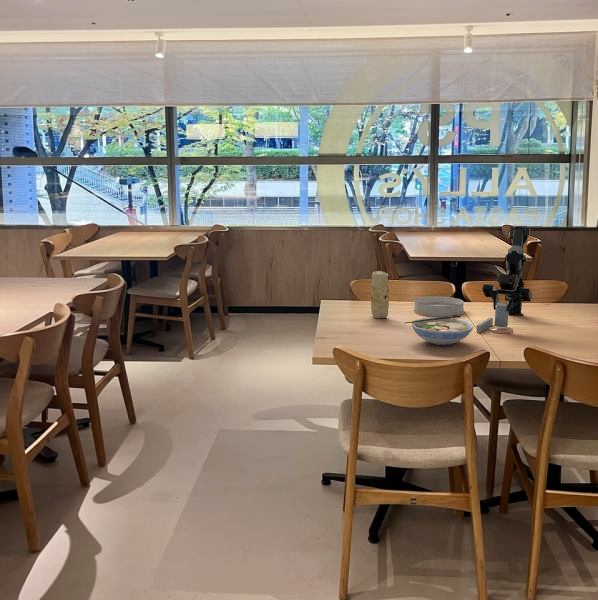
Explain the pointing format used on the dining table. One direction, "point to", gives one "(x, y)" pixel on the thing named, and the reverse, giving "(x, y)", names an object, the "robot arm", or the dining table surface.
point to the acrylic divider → (484, 325)
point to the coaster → (500, 329)
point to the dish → (438, 306)
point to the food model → (379, 294)
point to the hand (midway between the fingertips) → (500, 309)
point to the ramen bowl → (442, 329)
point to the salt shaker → (501, 314)
